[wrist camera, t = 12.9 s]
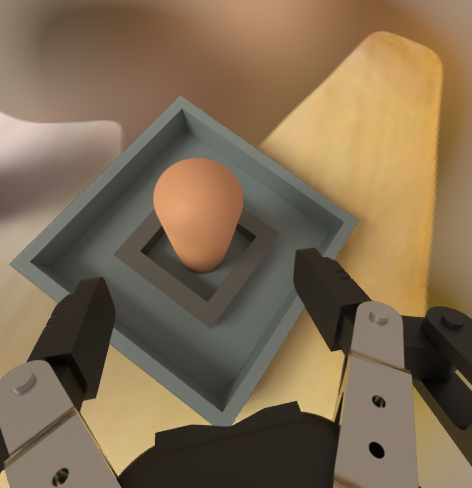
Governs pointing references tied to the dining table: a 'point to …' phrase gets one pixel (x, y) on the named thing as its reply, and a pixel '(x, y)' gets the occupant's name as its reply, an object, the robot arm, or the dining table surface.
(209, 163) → the peg
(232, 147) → the tray
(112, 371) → the dining table surface
